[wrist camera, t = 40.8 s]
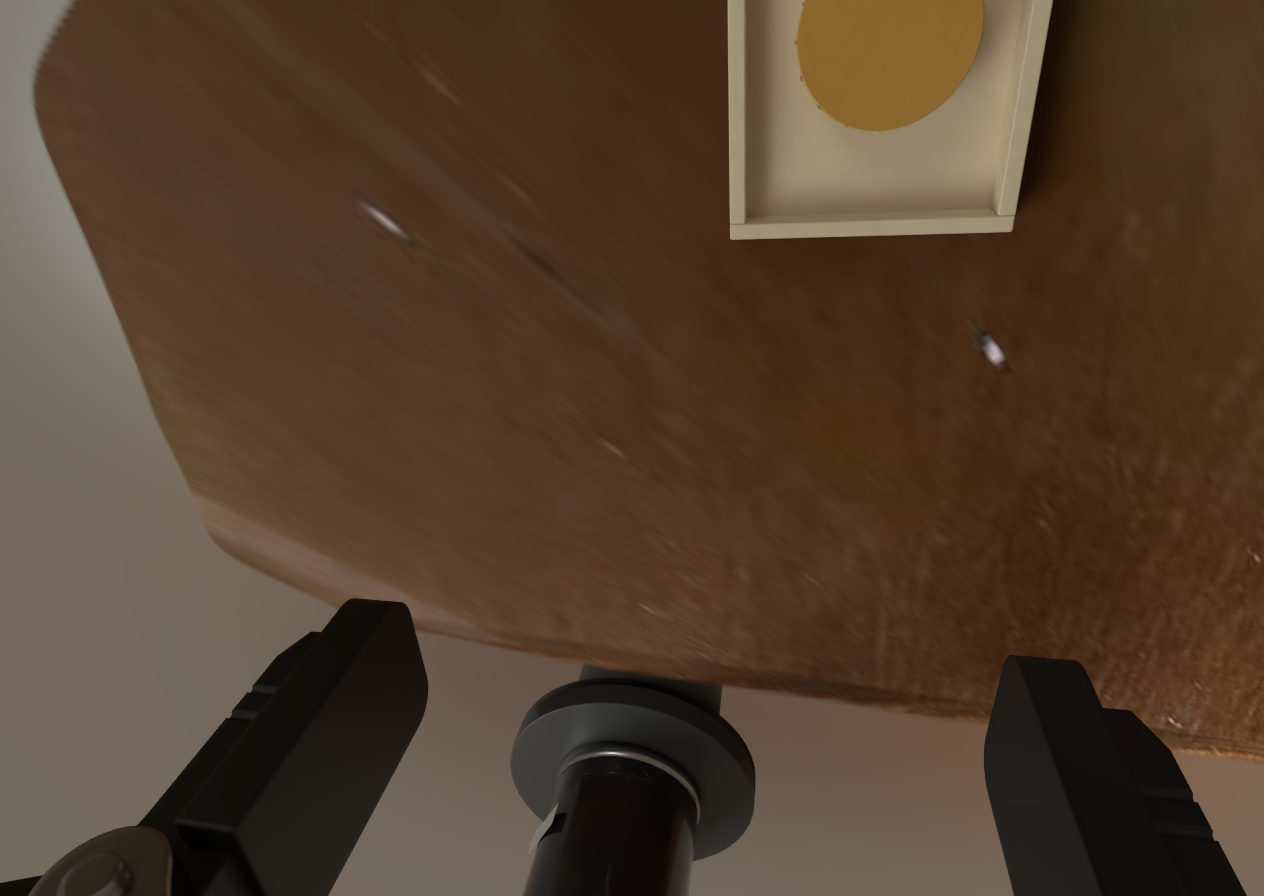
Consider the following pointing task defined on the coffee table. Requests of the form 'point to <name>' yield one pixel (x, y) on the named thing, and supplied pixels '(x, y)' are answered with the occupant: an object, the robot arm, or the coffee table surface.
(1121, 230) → the coffee table surface
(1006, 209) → the tray
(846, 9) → the jar lid
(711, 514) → the coffee table surface
